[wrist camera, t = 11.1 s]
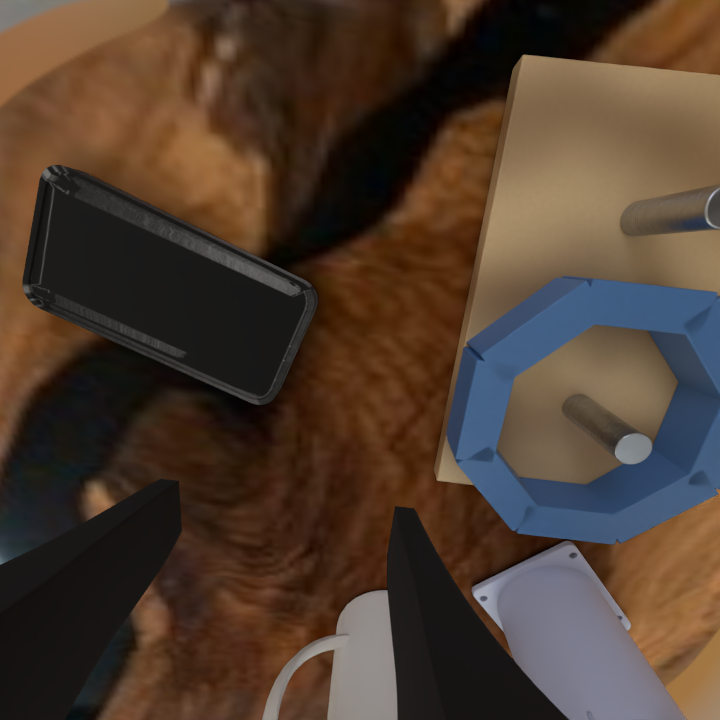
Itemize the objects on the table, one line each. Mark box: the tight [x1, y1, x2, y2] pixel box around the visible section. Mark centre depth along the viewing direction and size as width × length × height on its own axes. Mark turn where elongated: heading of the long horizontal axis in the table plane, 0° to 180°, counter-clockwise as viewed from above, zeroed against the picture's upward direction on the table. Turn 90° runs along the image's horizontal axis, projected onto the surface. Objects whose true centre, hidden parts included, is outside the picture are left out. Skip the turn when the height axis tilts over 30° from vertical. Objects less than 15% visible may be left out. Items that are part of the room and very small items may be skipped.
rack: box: [434, 55, 720, 485], centre depth 16 cm, size 22×14×6 cm, turn 174°
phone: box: [23, 165, 318, 405], centre depth 19 cm, size 8×1×15 cm
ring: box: [446, 275, 720, 545], centre depth 18 cm, size 14×14×3 cm
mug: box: [262, 590, 398, 720], centre depth 21 cm, size 12×8×10 cm, turn 55°
